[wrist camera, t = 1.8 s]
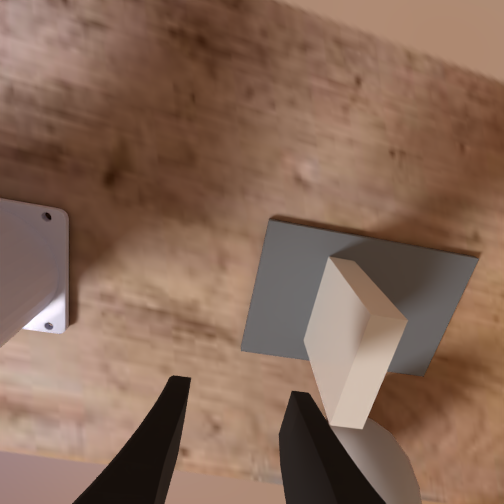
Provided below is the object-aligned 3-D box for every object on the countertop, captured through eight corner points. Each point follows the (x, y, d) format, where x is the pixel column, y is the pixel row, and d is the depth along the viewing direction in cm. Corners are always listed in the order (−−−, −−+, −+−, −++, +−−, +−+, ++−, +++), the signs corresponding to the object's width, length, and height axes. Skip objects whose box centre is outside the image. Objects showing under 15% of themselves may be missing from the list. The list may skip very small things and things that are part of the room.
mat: (240, 347, 21) (240, 351, 21) (269, 218, 18) (269, 220, 18) (420, 372, 23) (423, 376, 22) (474, 256, 20) (479, 258, 19)
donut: (346, 376, 23) (422, 548, 13) (385, 393, 23) (483, 568, 14) (276, 466, 25) (297, 659, 16) (312, 478, 26) (353, 671, 17)
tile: (303, 340, 21) (329, 425, 15) (328, 256, 19) (371, 314, 13) (327, 343, 21) (362, 429, 15) (354, 260, 19) (408, 320, 13)
